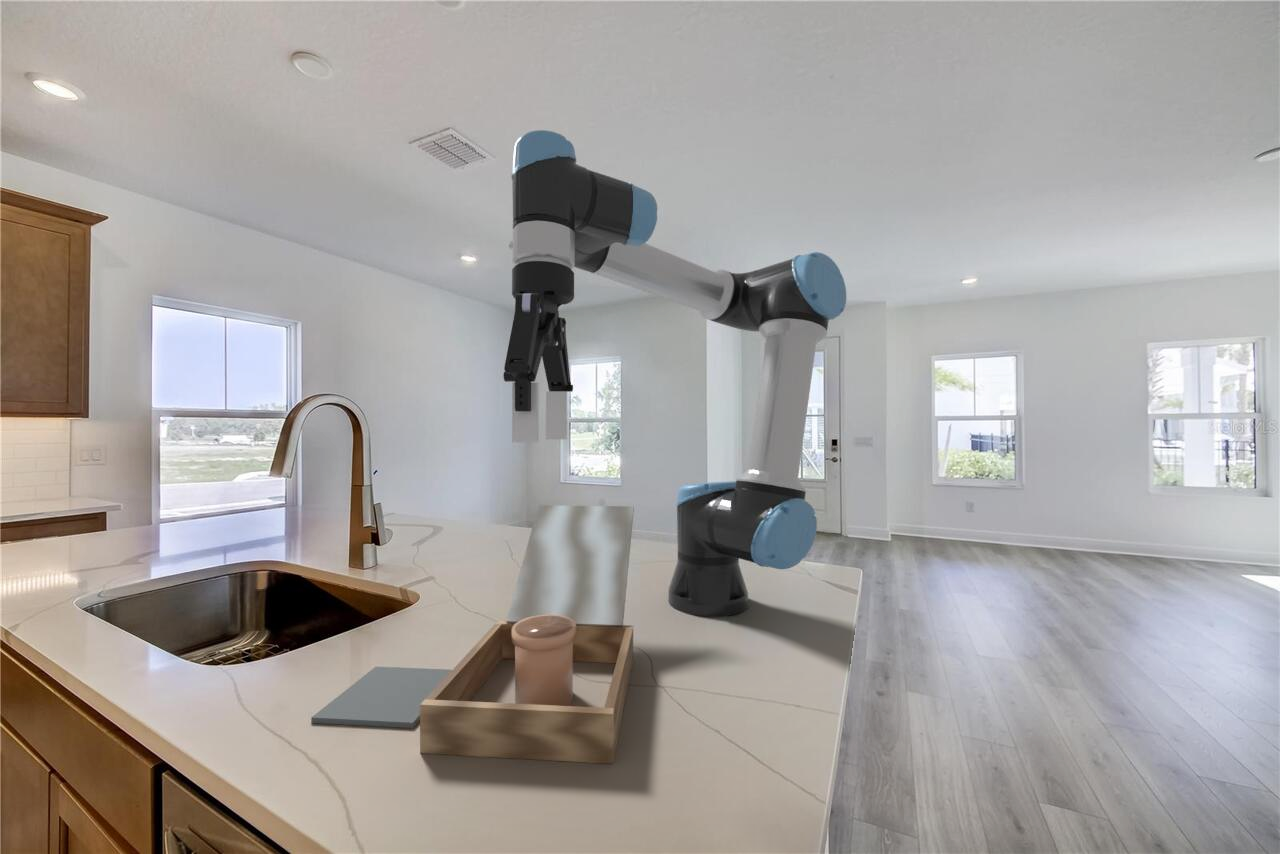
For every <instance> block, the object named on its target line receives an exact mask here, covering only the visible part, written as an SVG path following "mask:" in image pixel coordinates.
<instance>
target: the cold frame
mask: <svg viewBox="0 0 1280 854" xmlns="http://www.w3.org/2000/svg"><path fill="white" fill-rule="evenodd" d="M634 508H635V507H634V506H622V505H621V506H620V505H617V506H614V505H613V506H611V505H610V506H609V505H556V504H553V505H550V504H549V505H548V504H545V505H544V504H542V505H541V504H539V505H538V506H537V511H536V514H535V518H534V521H533V524H532V528H531V531H530V535H529V538H528V542H527V546H526V550H525V553H524V556H523V560H522V563H521V565H520V566H521V567H520V570H519V574H518V576H517V581H516V585H515V588H514V590H513V591H514V592H513V595H512V598H511V603H510V605H509V610H508V611H507V612H508V613H507V616H506V620H505V621H504V620H497V621H496V623H494V625H493V626H492V627H491V628H490V629H488V631H487V632H486V633H485V634H484V635H483V637H481V638H480V640H478V642H477V643H475V645H474V646H473V647H472V648H471V649H470V650H469V651H468V652H467V653H466V654H465V656H464V657H463V658H462V659H461V660H460V661H459V662H458V663H457V665H456V666H455V667H454V668H453V669H451V670H452V671H451V672H450V673H449V674H448V675H447V676H446V677H445V678H444V679H443V680H442V682H441V683H440V684H439V685H438V686H437V687H436V688H435V689H434V690H433V691H432V692H431V693H430V694H429V696H428V697H427V698H426V699H425V700H424V701H423V702H422V703H421V704H420V721H419V753H420V754H429V755H430V754H431V755H445V756H447V755H448V756H449V755H450V756H463V757H464V756H465V757H466V756H468V757H484V758H485V757H487V758H501V759H503V758H504V759H517V760H518V759H519V760H522V759H523V760H537V761H538V760H539V761H553V762H554V761H555V762H557V761H558V762H572V763H573V762H574V763H575V762H576V763H592V764H609V765H613V764H614V758H615V754H616V749H617V744H618V743H617V742H618V740H619V739H618V738H619V735H620V734H619V732H620V728H621V723H622V719H623V715H624V710H625V709H624V708H625V703H626V700H627V699H626V698H627V693H628V688H629V683H630V678H631V674H632V673H631V672H632V668H633V664H634V625H628V624H627V625H625V624H624V618H625V606H626V597H627V596H626V595H627V587H628V576H629V575H628V574H629V566H630V565H629V564H630V554H631V543H632V542H631V541H632V535H633V534H632V533H633V532H632V531H633V524H634V523H633V522H634V514H635V513H634V511H635V509H634ZM538 615H561V616H566V617H569V618H571V619H573V620H574V621H575V623H576V637H575V639H574V640H573V662H579V663H581V662H583V663H584V662H585V663H607V664H609V663H610V664H612V663H613V664H615V666H614V669H613V670H614V671H613V674H612V677H611V681H610V685H609V688H608V692H607V695H606V699H605V703H604V707H596V706H595V707H594V706H576V705H575V706H574V705H569V706H556V705H535V704H515V703H511V702H490V701H489V702H488V701H487V702H485V701H471V700H472V698H473V697H474V696H475V694H476V693H477V692H478V691H479V689H481V687H482V686H483V684H484V683H485V681H487V679H488V678H489V676H490V675H491V673H492V672H493V671H494V670H495V668H496V667H497V665H498V664H499V663H500V662H501V660H503V659H506V660H508V659H510V660H515V645H514V644H513V642H512V627H513V625H514V624H516V623H517V622H519V621H520V620H523V619H525V618H528V617H532V616H538Z"/></svg>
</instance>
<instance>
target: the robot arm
mask: <svg viewBox="0 0 1280 854" xmlns="http://www.w3.org/2000/svg"><path fill="white" fill-rule="evenodd" d="M576 163H577V157H576V151H575V147H574V145H573V143H572V142H571V141H570V140H567V138H566V137H565V136H564V135H562V134H560V133H557V132H555V131H551V130H545V129H544V130H543V129H542V130H540V129H538V130H533V131H532V130H531V131H529V132H526V133H524V134H522V135H521V136H520V137H519V138H518V139H517V140H516V142H515V145H514V148H513V158H512V169H511V172H512V173H511V180H512V185H511V186H512V190H511V191H512V241H509V243H508V248H509V249H510V250H512V263H513V264H514V265H515V266H513V268H512V271H511V295H512V297H513V298H514V300H515V304H514V306H515V307H514V316H513V320H512V325H511V326H512V327H511V330H510V336H509V341H508V346H507V352H506V356H505V362H504V366H503V368H504V369H503V370H504V372H503V380H504V382H510V383H511V382H512V386H511V387H512V394H511V396H512V403H511V404H512V405H511V406H512V410H511V411H512V412H511V413H512V416H511V417H512V419H511V420H512V421H511V423H512V424H511V425H512V427H511V429H512V430H511V434H512V435H511V436H512V437H511V438H512V441H511V442H512V443H533V444H535V443H536V444H537V443H539V430H540V429H539V425H540V424H539V423H540V422H539V420H540V419H539V411H540V410H539V407H540V405H539V404H540V399H539V397H540V395H539V394H540V393H539V392H540V390H539V389H540V387H539V386H540V385H539V384H540V383H539V382H535V381H536V379H537V375H538V372H539V367H540V364H541V360H542V363H543V367H544V372H545V373H544V374H545V378H546V383H547V386H548V390H549V391H545V392H546V393H545V397H546V398H545V440H568V436H567V435H568V431H567V430H568V429H567V427H568V425H567V424H568V393H569V392H573V391H574V384H572V382H571V374H570V362H569V353H568V344H567V335H566V334H567V330H566V325H567V320H566V318H565V317H560V313H559V307H560V306H562V305H565V306H566V305H567V304H571V303H572V301H574V299H575V272H574V270H573V268H576V269H579V270H582V271H585V272H589V273H591V274H594V275H597V276H600V277H603V278H605V279H608V280H611V281H614V282H617V283H620V284H623V285H625V286H628V287H630V288H634V289H636V290H640V291H642V292H645V293H648V294H651V295H653V296H656V297H660V298H663V299H666V300H667V301H671V302H673V303H676V304H678V305H682V306H684V307H685V306H686V307H687V308H691V309H693V310H696V311H698V312H699V314H700V316H701V317H702V318H703V319H705V320H707V321H708V320H709V321H710V322H714V323H717V324H721V325H724V326H726V327H731V328H733V329H734V328H735V329H738V330H743V331H748V332H759V333H760V335H761V336H763V339H765V344H764V345H765V346H764V351H763V359H762V366H761V373H760V379H759V386H758V392H757V400H756V404H755V405H756V406H755V407H756V408H755V412H754V420H753V427H752V433H751V434H752V435H751V438H750V439H751V440H750V446H749V454H748V461H747V466H746V467H747V468H746V470H745V472H744V473H742V474H741V475H740V476H739V477H737V478H736V480H735V481H734V480H731V481H729V480H728V481H714V482H713V481H711V482H701V483H699V482H698V483H689V484H683V485H682V486H680V487H679V489H678V494H677V503H676V517H677V518H676V524H677V525H676V527H677V535H676V538H677V540H676V541H677V561H676V565H675V568H674V571H673V575H672V578H671V581H670V584H669V587H668V598H667V599H668V603H669V605H670V607H672V608H673V609H674V610H676V611H679V612H681V613H685V614H689V615H692V616H699V617H710V618H711V617H712V618H714V617H728V616H733V615H736V614H740V613H742V612H744V611H746V610H747V609H748V607H749V592H748V589H747V585H746V582H745V579H744V575H743V573H742V569H741V566H740V563H739V561H740V560H743V561H747V562H750V563H753V564H756V565H758V566H759V567H764V568H765V567H766V568H772V569H776V570H788V569H791V568H793V567H795V566H797V565H799V564H800V563H801V562H802V560H803V559H805V558H806V557H807V556H808V555H809V554H808V553H809V552H810V550H811V549H812V547H813V544H814V543H815V539H816V536H817V535H816V534H817V528H818V520H817V519H818V518H817V516H815V514H816V512H815V510H814V507H813V505H811V504H810V503H809V502H807V500H806V494H807V493H806V491H807V490H806V488H805V487H804V485H802V483H801V482H800V480H799V474H800V466H801V458H802V450H803V443H804V436H805V430H806V422H807V414H808V408H809V407H808V406H809V400H810V399H809V398H810V392H811V385H812V384H811V383H812V378H813V370H814V362H815V355H816V347H817V344H818V343H819V342H821V341H822V340H824V339H825V338H826V337H827V333H828V326H829V320H835V319H836V318H838V317H839V316H841V314H842V313H843V312H844V311H845V308H846V304H847V287H846V282H845V280H844V277H843V275H842V273H841V270H840V268H839V267H838V265H837V263H835V261H834V260H833V259H832V258H831V257H830V256H829V255H827V254H825V253H823V252H817V251H816V252H815V251H813V252H810V253H806V254H802V255H801V254H798V255H795V256H794V257H793V258H790V259H786V260H784V261H781V262H778V263H775V264H772V265H769V266H765V267H763V268H760V269H757V270H756V269H755V270H753V271H749V272H742V273H740V272H739V273H734V272H730V271H729V270H726V269H716V270H715V271H713V270H711V269H708V268H705V267H703V266H701V265H698V264H696V263H694V262H691V261H689V260H686V259H684V258H682V257H679V256H677V255H675V254H672V253H669V252H667V251H665V250H662V249H659V248H657V247H655V246H653V245H650V244H648V243H647V242H648V241H649V239H650V238H651V237H652V235H653V233H654V231H655V228H656V226H657V223H658V204H657V201H656V199H655V197H654V195H653V194H652V193H651V192H650V191H648V190H646V189H644V188H642V187H639V186H637V185H634V183H632V182H627V181H624V180H620V179H617V178H615V177H611V176H608V175H606V174H603V173H599V172H597V171H593V170H590V169H588V168H586V167H584V166H582V165H578V164H576Z"/></svg>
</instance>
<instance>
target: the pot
mask: <svg viewBox="0 0 1280 854" xmlns="http://www.w3.org/2000/svg"><path fill="white" fill-rule="evenodd" d="M575 637H576V623H575V621H574V620H573V619H571V618H569V617H566V616H561V615H538V616H532V617H528V618H525V619H523V620H520V621H519V622H517V623H516V624H514V625H513V627H512V642H513V644H514V645H515V659H514V704H535V705H556V706H571V704H572V702H573V700H574V698H573V697H574V694H573V693H574V661H573V640H574V639H575Z"/></svg>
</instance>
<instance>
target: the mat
mask: <svg viewBox="0 0 1280 854" xmlns="http://www.w3.org/2000/svg"><path fill="white" fill-rule="evenodd" d="M452 670H453V669H443V668H422V667H421V668H417V667H401V666H400V667H398V666H397V667H395V666H374V667H373V668H371V669H370V670H369V671H368V672H367V673H365V674H364V675H363V676H362V677H360V679H358V680H357V681H355V682H354V683H353V684H352V685H351V686H348V688H346V689H345V690H344V691H343V692H341V693H339V695H337V697H335V698H334V699H332V701H331V702H329V703H328V704H326V705H325V706H324V707H322V708H321V709H320V710H319V711H318V712H316V713H315V714H314V715H312V716H311V717H310V718H311V719H310V720H311V724H328V725H346V726H347V725H349V726H363V727H364V726H365V727H366V726H367V727H369V726H370V727H386V728H387V727H388V728H401V729H403V728H405V729H414V727H415V726H416V725H417V724H418V723H420V704H421V703H422V702H423V701H424V700H425V699H426V698H427V697H428V696H429V694H430V693H431V692H432V691H433V690H434V689H435V688H436V687H437V686H438V685H439V684H440V683H441V682H442V680H443V679H444V678H445V677H446V676H447V675H448V674H449V673H450V672H451V671H452Z"/></svg>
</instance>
